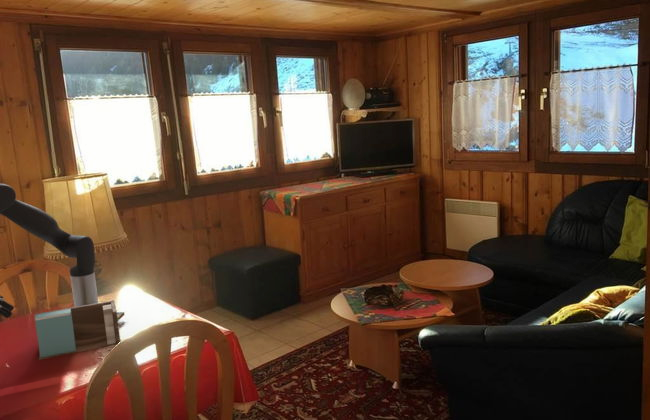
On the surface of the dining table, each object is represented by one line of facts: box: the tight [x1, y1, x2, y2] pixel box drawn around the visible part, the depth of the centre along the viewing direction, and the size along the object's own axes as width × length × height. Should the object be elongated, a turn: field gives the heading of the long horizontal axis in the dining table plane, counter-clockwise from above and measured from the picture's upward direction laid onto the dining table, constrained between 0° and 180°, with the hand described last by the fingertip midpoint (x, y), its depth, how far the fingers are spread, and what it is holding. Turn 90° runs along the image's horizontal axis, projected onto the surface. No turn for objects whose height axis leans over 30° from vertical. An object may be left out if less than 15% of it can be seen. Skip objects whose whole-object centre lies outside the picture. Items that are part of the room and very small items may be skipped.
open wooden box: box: [35, 299, 121, 361], centre depth 195 cm, size 13×26×14 cm, turn 114°
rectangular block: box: [34, 308, 76, 358], centre depth 190 cm, size 4×11×14 cm, turn 114°
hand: (11, 312), depth 183 cm, fingers open, 5 cm apart
